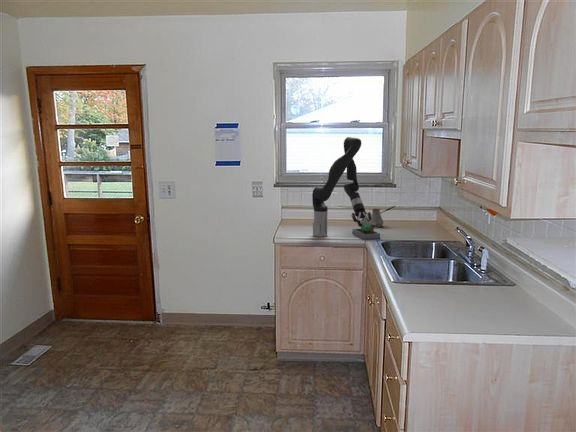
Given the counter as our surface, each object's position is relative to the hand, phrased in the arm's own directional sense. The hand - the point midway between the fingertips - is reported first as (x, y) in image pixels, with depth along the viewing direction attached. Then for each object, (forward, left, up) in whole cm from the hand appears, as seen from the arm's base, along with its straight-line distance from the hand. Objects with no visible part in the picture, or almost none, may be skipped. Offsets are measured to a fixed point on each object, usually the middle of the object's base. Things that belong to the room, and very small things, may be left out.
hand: (364, 225), depth 294 cm
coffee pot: (+35, +8, -7) cm, 37 cm away
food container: (-2, -1, -6) cm, 6 cm away
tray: (-1, -2, -7) cm, 7 cm away
